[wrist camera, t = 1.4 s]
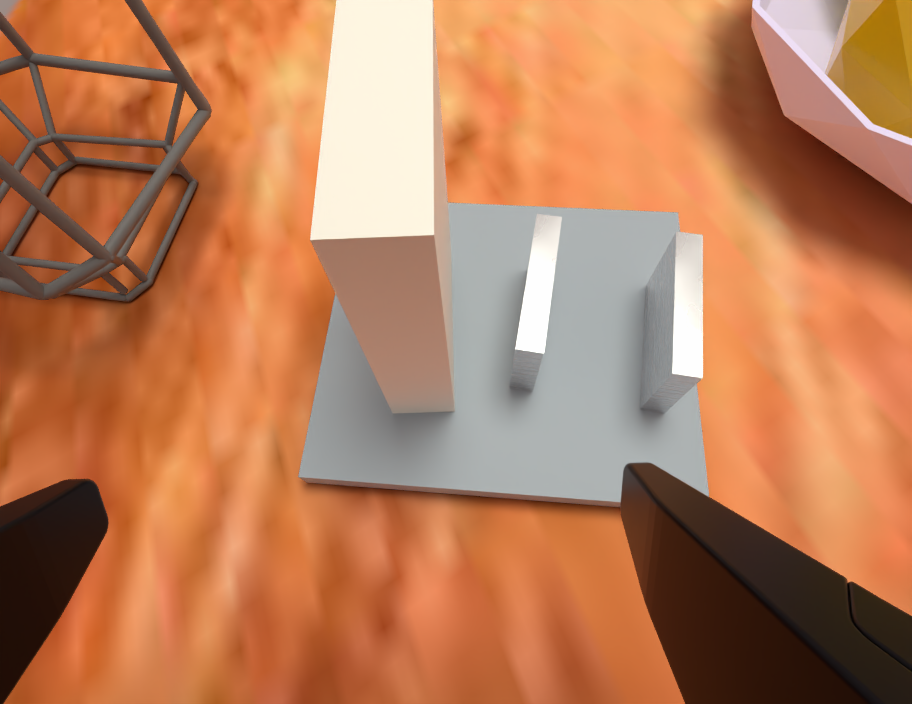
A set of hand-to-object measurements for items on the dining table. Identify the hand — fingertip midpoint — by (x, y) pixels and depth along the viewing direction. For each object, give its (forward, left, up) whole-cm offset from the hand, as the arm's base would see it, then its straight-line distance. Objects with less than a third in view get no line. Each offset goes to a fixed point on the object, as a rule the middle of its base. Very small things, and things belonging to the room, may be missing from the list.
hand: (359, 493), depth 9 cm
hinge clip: (+11, -1, -12) cm, 16 cm away
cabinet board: (+9, +3, -13) cm, 16 cm away
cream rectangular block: (+7, +6, -12) cm, 15 cm away
